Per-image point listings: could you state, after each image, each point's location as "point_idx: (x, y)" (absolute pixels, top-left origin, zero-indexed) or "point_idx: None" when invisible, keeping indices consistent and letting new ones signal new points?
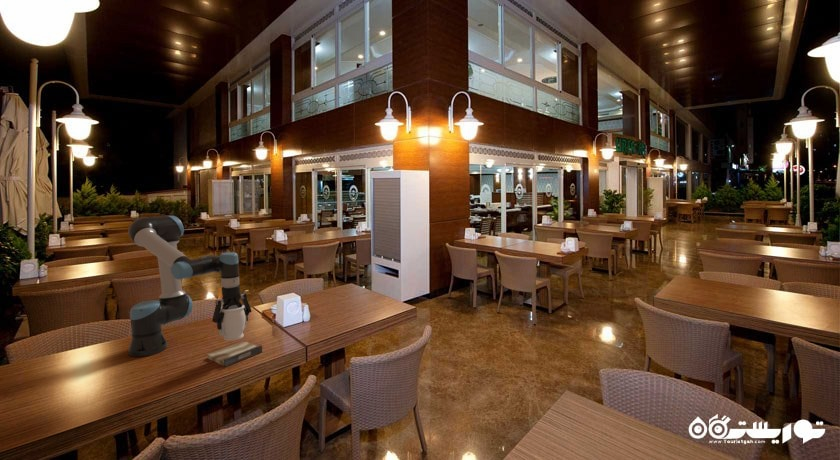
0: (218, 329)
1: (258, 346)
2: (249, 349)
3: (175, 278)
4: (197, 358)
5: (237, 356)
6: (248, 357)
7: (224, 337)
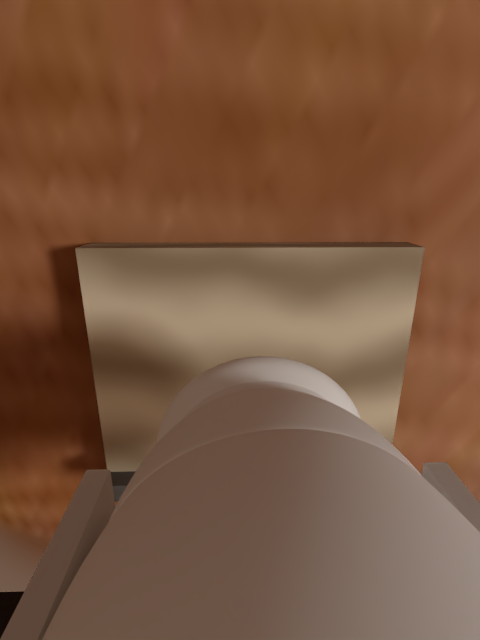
0: (3, 611)
1: None
2: None
3: None
4: (30, 168)
5: None
6: None
7: (164, 434)
